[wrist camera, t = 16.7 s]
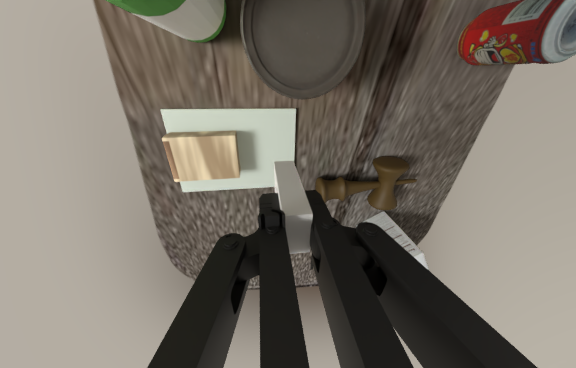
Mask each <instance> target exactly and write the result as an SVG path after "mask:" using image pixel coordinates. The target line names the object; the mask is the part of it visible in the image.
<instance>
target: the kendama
mask: <svg viewBox="0 0 576 368" xmlns="http://www.w3.org/2000/svg"><path fill="white" fill-rule="evenodd" d="M373 166H374V167H375V169H376V171H377V173H378V181H348V180H344V179H343V178H342V177H338V178H337V179H336V180H324V179H323V178H321V177H319V178H317V180H316V185H315V189H316V191H317V192H319V193H320V194H321V196H322V198H323V200H324V202H325V203H326V202H327V201H328V200H331V199H339V200H341V201H344V199H345V198H346V197H347V196H349V195H352V194H355V193H359V192H362V191H366V190H371V189H374V190H373V191H372V192H371V193H370V194H369V196H368V199H367V200H368V202H369V204H370V205H371V206H372V207H374V208H376V209H379V210H392V209H394V208H396V207H397V200H396V198H395V195H394V186H395V185H401V184H407V183H413V182H416V181H417V179H404V180H397V179H398V178H399V177H400V176H401V175H402V174H404V173H405V172H406V171H407V170H408V169H409V164H408V163H407V162H406V161H404V160H402V159H400V158H397V157H391V156H382V157H378V158H375V159H373Z"/></svg>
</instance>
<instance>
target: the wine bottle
mask: <svg viewBox="0 0 576 368" xmlns="http://www.w3.org/2000/svg"><path fill="white" fill-rule="evenodd" d="M106 1H108V2H110V3H112V4H114V5H116V6H118V7H120V8H122V9H124V10H126V11H128V12H130V13H132V14H134V15H136V16H138V17H140V18H142V19H144V20H147V21H149V22H151V23H153V24H155V25H157V26H159V27H161V28H163V29H165V30H167V31H169V32H171V33H174V34H176V35H178V36H180V37H182V38H184V39H187V40H189V41H193V42H207V41H209V40H212V39H214V38H215V37H216V36H217V35H218V34H219V33H220V31H221V29H222V28H223V26H224V22H225V18H226V2H225V0H106Z"/></svg>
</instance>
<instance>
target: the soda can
mask: <svg viewBox="0 0 576 368" xmlns="http://www.w3.org/2000/svg"><path fill="white" fill-rule="evenodd" d="M457 53H458V55H459V57H460V58H461V59H463V60H465V61H466V62H467V63H469V64H471V65H504V64H529V63H539V64H548V63H558V62H562V61H564V60H566V59H568V58H570V57H572V56H573V55H575V54H576V0H520V1H516V2H512V3H509V4H505V5H501V6H497V7H494V8H490V9H488V10H486V11H484V12H483V13H482V14H480V15H479V16H478V17H477V18H475V19H473V20H472V21H470V22H469V23H468V24H467V25H466V26H465V28H464V29H463V31H462V32H461V34H460V37H459V39H458V44H457Z"/></svg>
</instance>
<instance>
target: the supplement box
mask: <svg viewBox="0 0 576 368" xmlns="http://www.w3.org/2000/svg"><path fill="white" fill-rule="evenodd" d="M364 222H370V223H374V224H376V225H378V226H379V227H381V228H382V229H383V230H384V231H385V232H386V233H387V234H388V235H390V236H391V237H392V238H393V239H394V240H395V241H396V242H397V243H399V244H400V245H401V246H402V247H403V248H404V249H405V250H406V251H407V252H409V253H410V254H411V255H412V256H413V257H414V258H415V259H416V260H418V261H419V262H420V263H421V264H422V265H423V266H424V267H425V268H426V269H428V266H427V263H426V260H425V257H424V254H423V252H422V251H421V250H420V249H419V248H418V247H417V246H416V244H415V243H414V242H413V241H412V240H411V239H410V238H409V237H408V236H407V235H406V234H405V233H404V232H403V231H402V229H401V228H400V227H399V226H398V225H397V224H396V223H395V222H394V221H393V220H392V219H391V218H390V217H389V216H388V215H387V214H386V213H385V212H384V211H383V212H381V213H379V214H377V215H375V216H373V217H371V218H369V219H367V220H365V221H364ZM356 227H357V225H356ZM428 270H429V269H428Z"/></svg>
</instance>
